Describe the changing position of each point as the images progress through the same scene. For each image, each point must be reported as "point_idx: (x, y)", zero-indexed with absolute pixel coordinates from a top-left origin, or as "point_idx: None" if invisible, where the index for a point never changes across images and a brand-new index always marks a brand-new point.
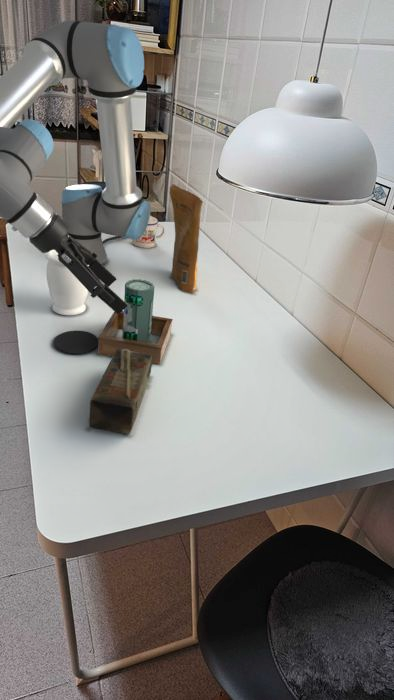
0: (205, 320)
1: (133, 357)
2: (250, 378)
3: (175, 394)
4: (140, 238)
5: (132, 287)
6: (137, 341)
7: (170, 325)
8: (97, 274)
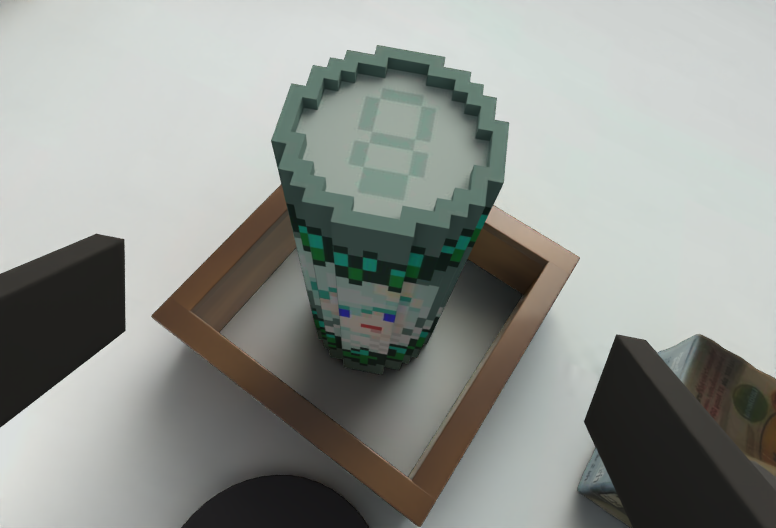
0: (293, 24)
1: (730, 431)
2: (666, 79)
3: (741, 321)
4: None
5: (392, 193)
6: (508, 335)
7: None
8: (7, 397)
